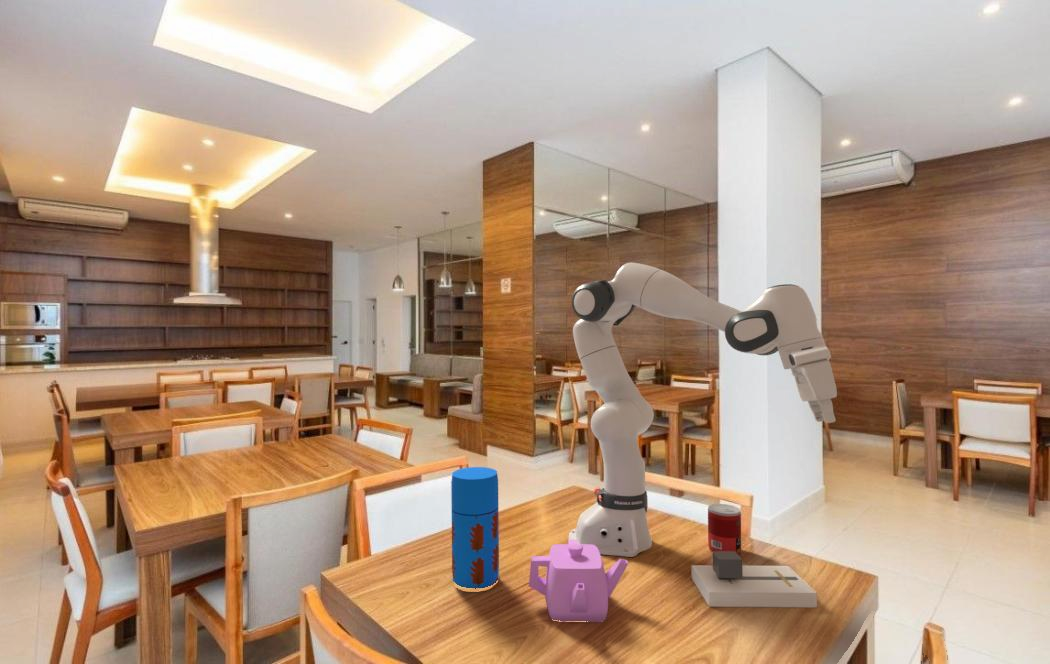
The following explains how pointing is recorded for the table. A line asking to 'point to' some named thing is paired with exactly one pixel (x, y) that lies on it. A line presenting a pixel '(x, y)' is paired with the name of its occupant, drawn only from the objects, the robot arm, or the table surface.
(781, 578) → the slider panel
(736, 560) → the block
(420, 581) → the table surface
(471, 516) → the thermos
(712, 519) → the canned food
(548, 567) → the teakettle
